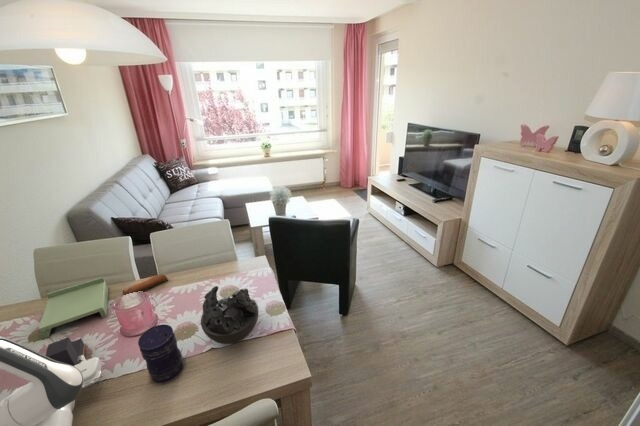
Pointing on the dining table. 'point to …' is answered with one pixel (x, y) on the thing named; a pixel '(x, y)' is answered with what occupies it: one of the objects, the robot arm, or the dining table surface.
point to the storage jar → (161, 353)
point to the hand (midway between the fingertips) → (62, 364)
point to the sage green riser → (74, 304)
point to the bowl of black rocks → (229, 316)
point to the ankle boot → (66, 351)
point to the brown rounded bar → (145, 284)
